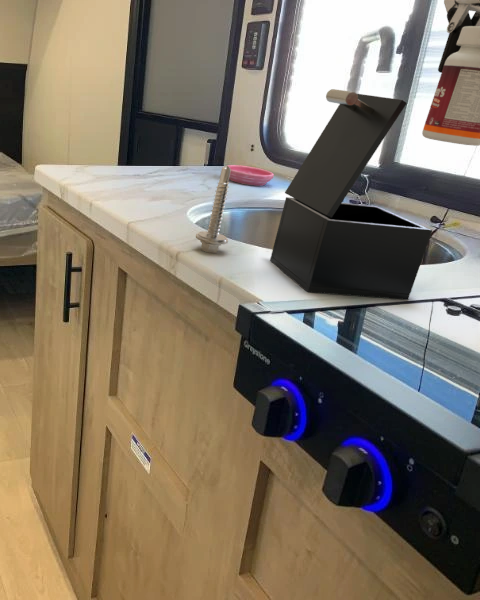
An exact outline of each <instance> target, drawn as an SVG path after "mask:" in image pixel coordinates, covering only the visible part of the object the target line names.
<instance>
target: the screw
mask: <svg viewBox="0 0 480 600" xmlns="http://www.w3.org/2000/svg"><path fill="white" fill-rule="evenodd" d="M230 172H231V168H229V167H228V166H227V165H224V166H222V168H221V170H220V175H219V180H218V182H217V186H216V190H215V194H214V198H213V200H214V201H213V205H212V206H211V208H212V209H211V210H210V211H211V213H210V217H209V221H208V223H209V225H208V228H207V231H204V230H203V231H199V232H197V233H196V234H195V238H196V239H197V241H200V243H201V245H200V246H201V247H200V251H203V252H205V253H206V254H207V253H208V254H217V253H218V252H219V248H220V247H221V246H222V245H227V244H228V242H229V239H228V238H227V237H226V235H223V234H221V233H220V231H221V229H220V228H221V227H222V225H221V224H222V223H223V222H222V220H223V216H224V212H225V210H224V209H225V208H226V206H225V205H226V204H227V202H226V200H227V196H228V192H229V188H230V186H229V184H230V182H229V181H230V179H229V177H230Z"/></svg>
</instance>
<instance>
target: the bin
mask: <svg viewBox="0 0 480 600" xmlns="http://www.w3.org/2000/svg"><path fill="white" fill-rule="evenodd" d="M432 234H433V229H430V228H428V227H426V226H424V225H422V224H419V223H418V222H414V221H412V220H410V219H408V218H407V217H403V216H401V215H399V214H396V213H394V212H392V211H390V210H387V209H385V208H383V207H381V206H377V205H376V206H375V205H368V204H359V203H349V202H342V203H341V204H340V206H339V207H338V209H337V211H336V212H335V214H334V215H333V217H332V218H330V217H329V216H327V215H325V214H323V213H321V212H319V211H317V210H315V209H314V208H312V207H310V206H308V205H306V204H304V203H302V202H301V201H299V200H297V199H295V198H293V197H290V196H289V197H288V196H287V197H285V200H284V203H283V208H282V212H281V216H280V220H279V224H278V228H277V231H276V234H275V239H274V243H273V247H272V251H271V255H270V259H269V262H270V263H272V264H273V265H274V266H276V267H277V268H278V269H279V270H280V271H281V272H283V273H284V274H285V275H286V276H287V277H289V278H290V279H291V280H292V281H294V282H295V283H296V284H297V285H298V286H300V287H301V288H302V289H303V290H304V291H306V292H307V293H314V294H327V295H341V296H351V297H365V298H378V299H379V298H380V299H391V300H404V301H405V300H406V301H408V300H409V299H410V296H411V293H412V290H413V287H414V284H415V281H416V279H417V276H418V272H419V271H420V267H421V264H422V261H423V258H424V256H425V253H426V250H427V247H428V246H429V245H428V244H429V242H430V239H431V236H432Z"/></svg>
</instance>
